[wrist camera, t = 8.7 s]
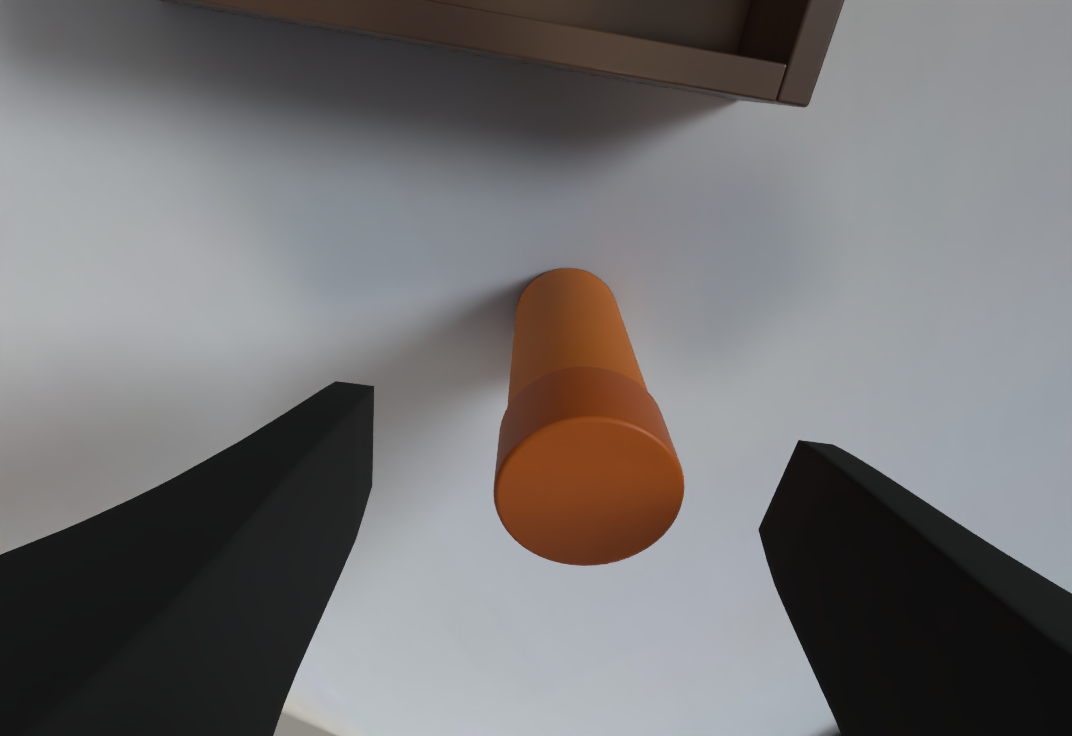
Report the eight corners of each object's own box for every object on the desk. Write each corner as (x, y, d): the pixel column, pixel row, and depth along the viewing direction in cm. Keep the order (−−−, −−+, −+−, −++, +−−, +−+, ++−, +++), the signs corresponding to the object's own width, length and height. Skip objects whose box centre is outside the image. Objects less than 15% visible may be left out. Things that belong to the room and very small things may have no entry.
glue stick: (505, 357, 16) (483, 557, 9) (520, 255, 15) (505, 405, 8) (608, 371, 16) (658, 576, 9) (632, 272, 15) (710, 432, 8)
